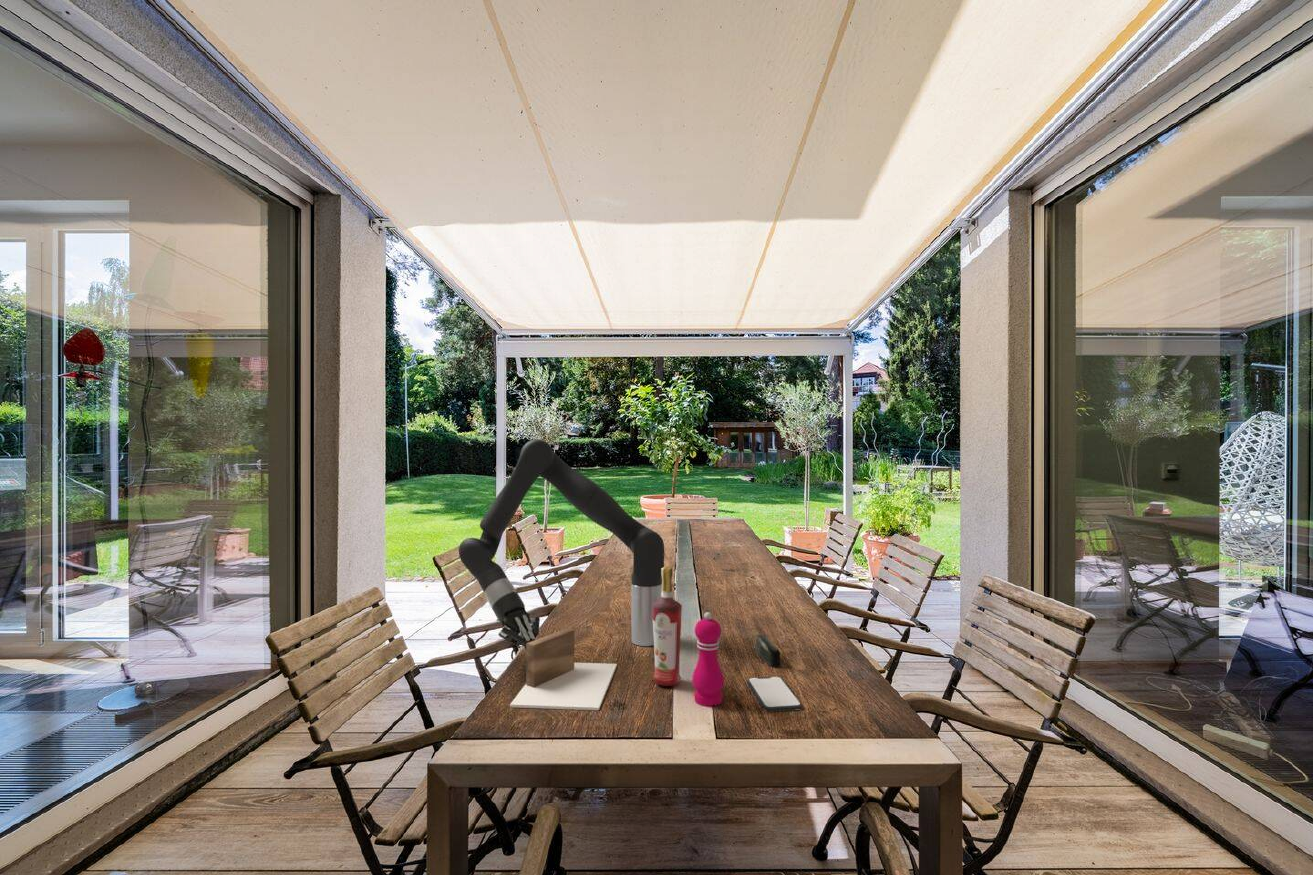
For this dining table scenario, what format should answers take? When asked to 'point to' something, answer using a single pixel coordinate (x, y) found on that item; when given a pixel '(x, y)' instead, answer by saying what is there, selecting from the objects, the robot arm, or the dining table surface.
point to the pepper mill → (708, 663)
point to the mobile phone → (767, 651)
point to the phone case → (773, 694)
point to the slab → (549, 657)
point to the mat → (570, 689)
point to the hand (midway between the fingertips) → (536, 655)
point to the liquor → (667, 633)
